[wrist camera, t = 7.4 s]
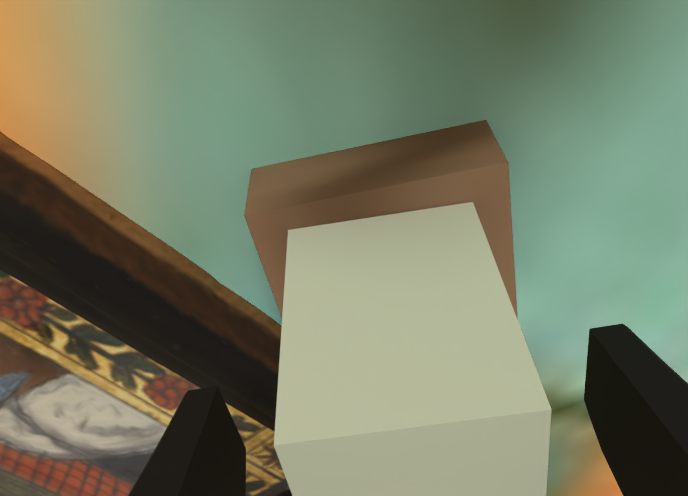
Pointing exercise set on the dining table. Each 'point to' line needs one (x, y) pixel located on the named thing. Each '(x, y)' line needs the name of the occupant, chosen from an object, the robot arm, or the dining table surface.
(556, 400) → the dining table surface
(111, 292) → the framed icon painting
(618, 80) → the dining table surface
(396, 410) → the sage block
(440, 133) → the walnut base
